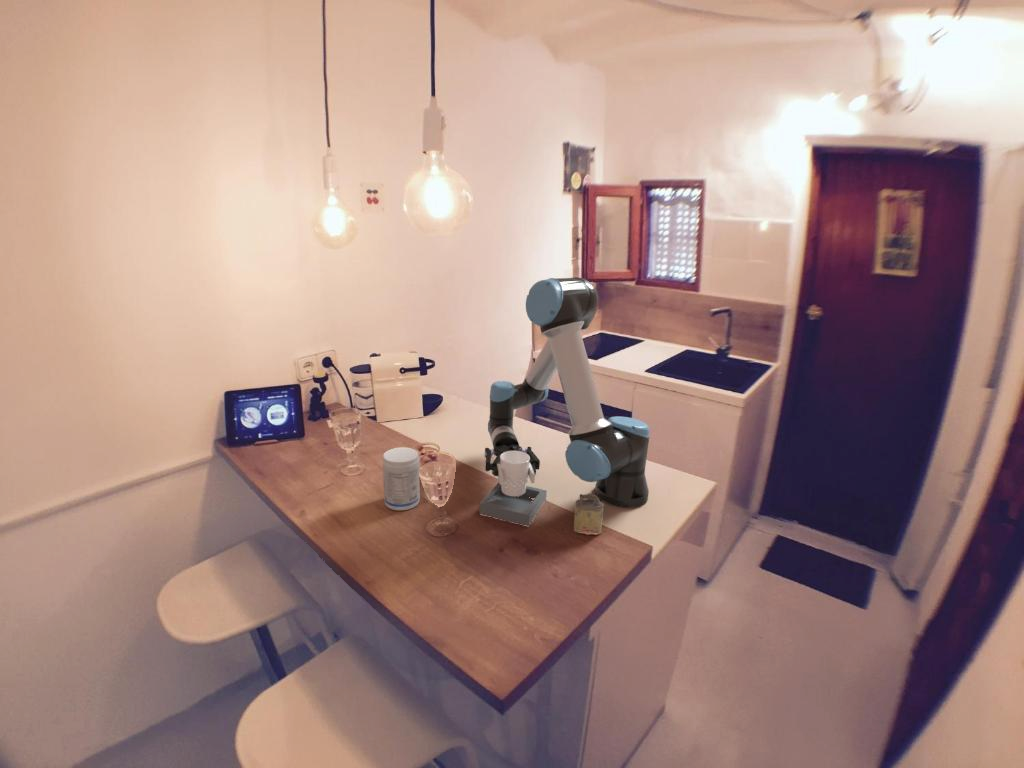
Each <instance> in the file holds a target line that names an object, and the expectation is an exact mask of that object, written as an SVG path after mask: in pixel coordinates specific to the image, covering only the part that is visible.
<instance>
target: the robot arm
mask: <svg viewBox="0 0 1024 768" xmlns="http://www.w3.org/2000/svg"><path fill="white" fill-rule="evenodd" d="M596 289H597V288H596V287H595V285H594V284H593V283H591V282H590V281H589V280H587V279H586V278H582V277H564V278H563V277H561V278H557V277H556V278H553V277H551V278H547V279H542V280H538V281H537V282H536V283H534V284H533V285H532V286H531V287H530V289H529V291H528V294H527V295H526V297H525V298H526V299H525V311H526V312H525V313H526V315H527V317H528V319H529V320H530V322H532V323H533V324H534V325H536V326H537V327H539V328H540V331H541V335H542V336H544V337H545V338H547V339H546V341H545V343H544V345H543V347H542V349H541V350H540V352H539V354H538V356H537V357H536V360H535V361H534V363H533V364H532V366H531V368H530V370H529V371H528V373H527V375H526V378H525V379H524V380H523V382H522V383H519V384H516V385H515V384H514V383H513V382H510V381H506V380H500V381H498V380H497V381H495V382H492V384H490V385H491V386H490V391H489V417H488V418H489V420H488V422H487V431H488V433H489V437H490V439H491V443H492V446H493V447H492V448H493V449H492V448H491V449H490V447H485V448H484V457H485V469H484V470H485V471H486V472H490V471H491V474H492V475H493V476H494V477H497V479H498V482H499V483H500V485H503V473H502V469H501V467H500V455H501V454H502V453H504V452H507V451H521V452H524V453H526V454H528V455H529V456H530V461H529V472H528V478H529V480H530V483H531V484H535V479H536V478H535V477H536V475H537V470H540V465H541V464H540V462H541V461H540V459H539V458H538V456H537V455H536V454H535V452H533V449H532V447H531V446H527V447H526V448H523V447H522V446H520V443H519V440H518V438H517V435H516V433H515V431H514V414H515V413H514V411H515V410H518V409H520V408H524V407H528V406H533V405H537V404H539V403H541V402H543V401H545V400H547V398H548V397H549V391H550V390H549V387H548V386H549V385H550V383H551V381H552V380H553V377H554V376H555V375H556V373H557V375H558V377H559V381H560V385H561V389H562V392H563V396H564V401H565V404H566V408H567V411H568V414H569V419H570V422H571V428H570V430H569V431H568V434H567V435H568V437H569V441H570V442H569V444H568V445H567V446H566V450H565V453H564V455H565V456H564V457H565V461H566V463H567V466H568V468H569V470H570V471H571V472H572V474H573V475H574V476H577V477H578V478H579V479H580V480H582V481H584V482H587V483H594V482H596V483H595V488H594V489H595V491H594V492H595V496H598V498H599V500H600V501H601V502H604V503H606V504H608V505H611V506H615V507H619V508H637V507H642V506H643V505H645V504H646V503H647V502H648V500H649V490H650V489H649V487H648V482H647V478H646V474H645V473H646V465H647V458H648V450H649V441H650V439H651V438H650V426H649V425H648V424H647V423H646V422H645V421H642V420H639V419H637V418H633V417H629V416H620V415H619V416H618V415H617V416H611V417H609V418H608V419H606V418H605V417H604V413H603V409H602V405H601V403H600V399H599V395H598V391H597V387H596V383H595V380H594V376H593V372H592V369H591V366H590V362H589V361H590V360H589V357H588V354H587V351H586V346H585V343H584V340H583V335H582V331H585V330H587V329H588V328H589V326H590V325H591V323H592V322H593V320H594V317H595V315H596V314H597V311H598V307H599V295H598V291H597V290H596ZM493 456H496V457H495V458H494V460H493V461H491V459H492V457H493Z"/></svg>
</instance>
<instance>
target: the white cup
mask: <svg viewBox="0 0 1024 768" xmlns="http://www.w3.org/2000/svg"><path fill="white" fill-rule="evenodd" d="M529 461H530V456H529V455H528V454H526V453H524V452H521V451H507V452H504V453H502V454H501V455H500V467H501V469H502V473H503V485H501V490H502V493H504V494H505V495H508V496H521V495H523V494H524V493H525V492H526V486H528V478H529V476H528V472H529Z"/></svg>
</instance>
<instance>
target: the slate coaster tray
mask: <svg viewBox="0 0 1024 768" xmlns="http://www.w3.org/2000/svg"><path fill="white" fill-rule="evenodd" d="M547 492H548V491H547V490H546V489H543V488H539V487H538V488H537V487H533V486H528V485H527V486H526V492H525V493H524V494H523V495H521V496H519V497H518V496H508V495H505V494H504V493H502V490H501V485H500V483H499V481H498V482H497V483H496V484H495V486H494V487H493V488H492V489H491V490H490V491H489V492H488V493H487V494H486V496H485V497H483V499H482V500H481V501H480V502H479V515H480V514H483V515H487V516H491V517H495V518H498V519H502V520H506V521H510V522H514V523H518V524H522V525H527V526H529V525H530V523H531V522H532V520H533V518H534V517H535V515H536V514H537V512H538V510H539V509H540V507H541V505H542V504H543V502H544V501H546V502H547ZM529 497H530V498H529ZM531 498H535V499H534V500H532V499H531ZM531 501H533V502H531ZM532 523H533V522H532ZM530 526H531V525H530Z"/></svg>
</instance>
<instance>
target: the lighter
mask: <svg viewBox="0 0 1024 768" xmlns="http://www.w3.org/2000/svg"><path fill="white" fill-rule="evenodd" d="M603 516H604V503H603V501H601V500H600V499H599V498H598V496H597V495H593V493H587V494H582V493H581V494H579V499H577V500H576V501H575V507H574V518H573V519H574V520H573V528H574V530H576V531H577V532H587V533H589V532H590V533H599V532H600V531H601V532H602V527H603V519H604V517H603ZM574 530H573V531H574Z"/></svg>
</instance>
